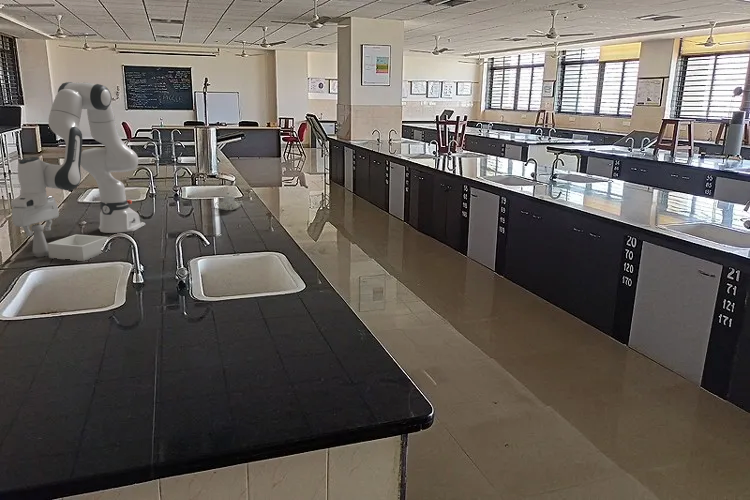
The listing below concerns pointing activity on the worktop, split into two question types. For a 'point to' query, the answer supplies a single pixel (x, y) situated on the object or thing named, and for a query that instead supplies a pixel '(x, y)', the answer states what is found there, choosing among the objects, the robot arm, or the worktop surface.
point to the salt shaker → (39, 241)
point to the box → (77, 247)
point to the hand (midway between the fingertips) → (39, 233)
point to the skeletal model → (229, 202)
